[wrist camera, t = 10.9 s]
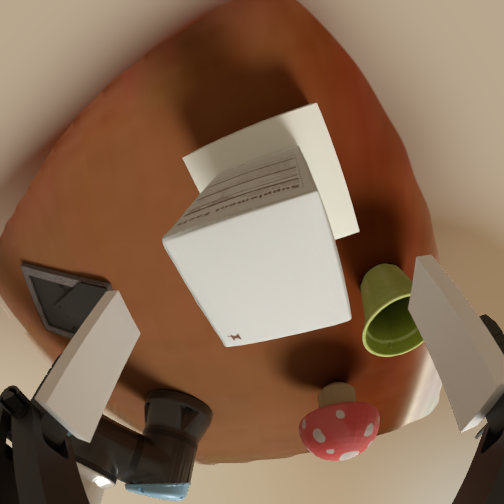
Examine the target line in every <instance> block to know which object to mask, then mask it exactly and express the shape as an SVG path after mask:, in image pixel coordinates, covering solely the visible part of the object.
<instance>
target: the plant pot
mask: <svg viewBox="0 0 504 504" xmlns="http://www.w3.org/2000/svg"><path fill="white" fill-rule="evenodd" d="M412 283H413V282H412V281H411V280H410V279H409V278H408V277H407V275H406V274H405V273H404V272H403V271H402V270H401V269H400V268H399V267H398V266H396V265H392V264H386V263H384V264H380V265H377V266H375V267H373V268H372V269H370V270H369V271H368V272H367V273H366V274H365V276H364V279H363V281H362V284H361V288H360V289H361V295H362V301H363V307H364V315H365V323H364V328H363V332H362V340H363V344H364V346H365V348H366V349H367V350H368V351H369V352H371V353H372V354H375V355H378V356H383V357H390V356H396V355H400V354H404V353H406V352H409V351H411V350H412V349H414V348H416V347H418V346H419V345H420V344H421V343H423V342H424V340H423V338H422V336H421V334H420V332H419V330H418V328H417V326H416V324H415V322H414V320H413V318H412V316H411V314H410V312H409V310H408V306H409V300H410V295H411V289H412Z"/></svg>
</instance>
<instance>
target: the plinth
mask: <svg viewBox="0 0 504 504" xmlns="http://www.w3.org/2000/svg"><path fill="white" fill-rule="evenodd" d="M294 146H299V147H300V149H301V152H302V153H303V156H304V158H305V160H306V162H307V164H308V167H309V169H310V172H311V174H312V177H313V179H314V181H315V184H316V186H317V189H318V191H319V193H320V196H321V199H322V202H323V204H324V207H325V210H326V213H327V216H328V219H329V222H330V225H331V228H332V232H333V235H334V238H335V240H336V239H339V238H342V237H345V236H348V235H351V234H354V233H357V232H360V231H359V227H358V224H357V220H356V216H355V213H354V209H353V205H352V202H351V199H350V195H349V192H348V189H347V185H346V182H345V179H344V176H343V173H342V170H341V167H340V164H339V161H338V158H337V155H336V152H335V149H334V146H333V144H332V141H331V138H330V135H329V133H328V130H327V127H326V125H325V122H324V120H323V117H322V115H321V112H320V110H319V107H318V105H317V103H313V104H308V105H305V106H302V107H299V108H296V109H293V110H290V111H287V112H285V113H282V114H279V115H276V116H274V117H271V118H269V119H266V120H263V121H261V122H258V123H256V124H253V125H251V126H248V127H246V128H244V129H241V130H239V131H236V132H234V133H232V134H230V135H227V136H225V137H223V138H221V139H218V140H216V141H214V142H212V143H210V144H207V145H205V146H203V147H201V148H199V149H197V150H196V151H194V152H192V153H190V154H188V155H187V156H185V157H183V160H184V162H185V164H186V166H187V168H188V170H189V172H190V174H191V176H192V178H193V180H194V182H195V184H196V186H197V188H198V190H199V192H200V194H201V192H202V191H203V190H204V189H205V188H206V187H207V185H208V184H209V183H210V182H211V181H212V180H213V179H214V178H215V177H216V176H217V175H218V174H219V173H221V172H224V171H227V170H229V169H232V168H234V167H237V166H240V165H242V164H245V163H248V162H251V161H254V160H256V159H259V158H262V157H265V156H268V155H271V154H274V153H277V152H280V151H283V150H285V149H288V148H292V147H294Z"/></svg>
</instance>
